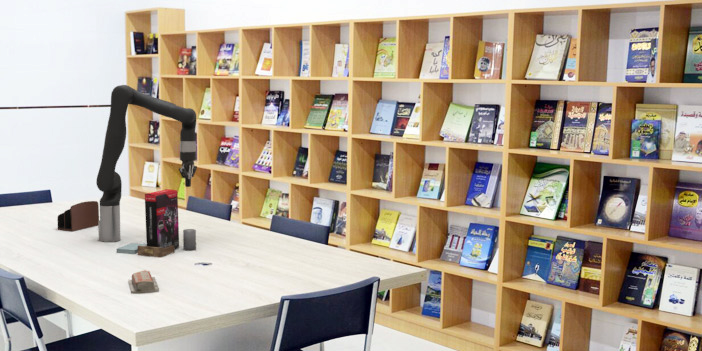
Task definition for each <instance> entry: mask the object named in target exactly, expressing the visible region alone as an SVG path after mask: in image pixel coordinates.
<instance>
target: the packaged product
mask: <svg viewBox="0 0 702 351" xmlns="http://www.w3.org/2000/svg"><path fill="white" fill-rule="evenodd" d="M128 285H129V289H130V292H131V293H130V294H132V293H133V294H145V292H147V293H158V292H157V291H160V288H159V285H158V282H157V279H156V277H155V276H152V273H151V272H150V271H149V270H146V269H144V270H141V271H140V270H139V271H137V272H134V273H132V274H131V279H128Z"/></svg>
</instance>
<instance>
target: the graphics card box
mask: <svg viewBox="0 0 702 351" xmlns="http://www.w3.org/2000/svg"><path fill="white" fill-rule="evenodd" d="M178 202H179V199H178V190H176V189H167V188H165V189H162V190H157V191H154V192H153V191H152V192H147V193H145V194H144V207H145V209H144V210H145V211H144V212H145V213H144V214H145V234H146V236H145V238H146V244H147V246H150V247H159V248H162V249H163V248H166V247H169V246H174V249H177V248H179V247H180V233H179V232H180V231H179V230H180V227H179V224H180V223H179V205H178V204H179V203H178Z"/></svg>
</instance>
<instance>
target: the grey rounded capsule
mask: <svg viewBox="0 0 702 351" xmlns="http://www.w3.org/2000/svg"><path fill="white" fill-rule="evenodd" d="M182 230H183V235H182V236H183V250H184V251H187V252H189V251H191V252H192V251H196V250H197V241H196V240H197V230H196V229H194V228H185V229H182Z"/></svg>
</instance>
